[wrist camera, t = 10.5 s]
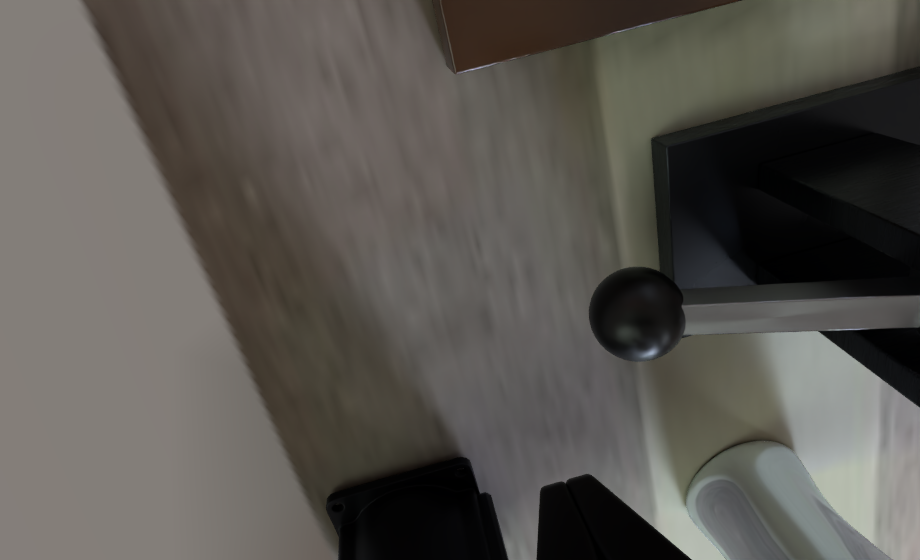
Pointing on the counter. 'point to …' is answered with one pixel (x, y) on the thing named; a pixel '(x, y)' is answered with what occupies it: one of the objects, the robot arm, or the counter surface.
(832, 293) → the lever with ball knob
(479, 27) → the control block
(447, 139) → the counter surface
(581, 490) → the robot arm
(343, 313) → the counter surface
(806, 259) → the black lever housing
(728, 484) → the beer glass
